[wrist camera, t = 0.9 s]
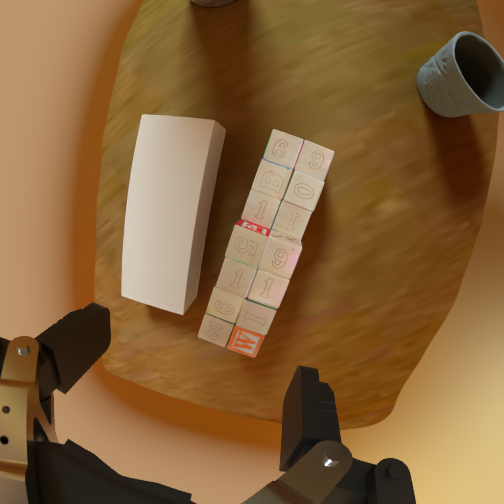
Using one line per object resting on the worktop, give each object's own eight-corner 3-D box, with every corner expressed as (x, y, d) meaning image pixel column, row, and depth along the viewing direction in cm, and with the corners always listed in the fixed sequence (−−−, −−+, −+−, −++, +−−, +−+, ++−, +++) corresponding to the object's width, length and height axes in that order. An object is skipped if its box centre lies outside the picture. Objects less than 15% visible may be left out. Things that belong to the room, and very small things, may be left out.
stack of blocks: (276, 141, 32) (272, 119, 20) (323, 159, 32) (344, 147, 20) (221, 292, 38) (195, 338, 26) (263, 308, 38) (254, 360, 26)
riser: (163, 123, 33) (142, 114, 27) (226, 129, 32) (214, 120, 27) (141, 280, 39) (121, 295, 33) (197, 296, 39) (182, 315, 33)
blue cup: (457, 68, 25) (500, 44, 13) (470, 128, 27) (521, 119, 16) (404, 56, 26) (441, 21, 15) (418, 121, 29) (466, 102, 17)
